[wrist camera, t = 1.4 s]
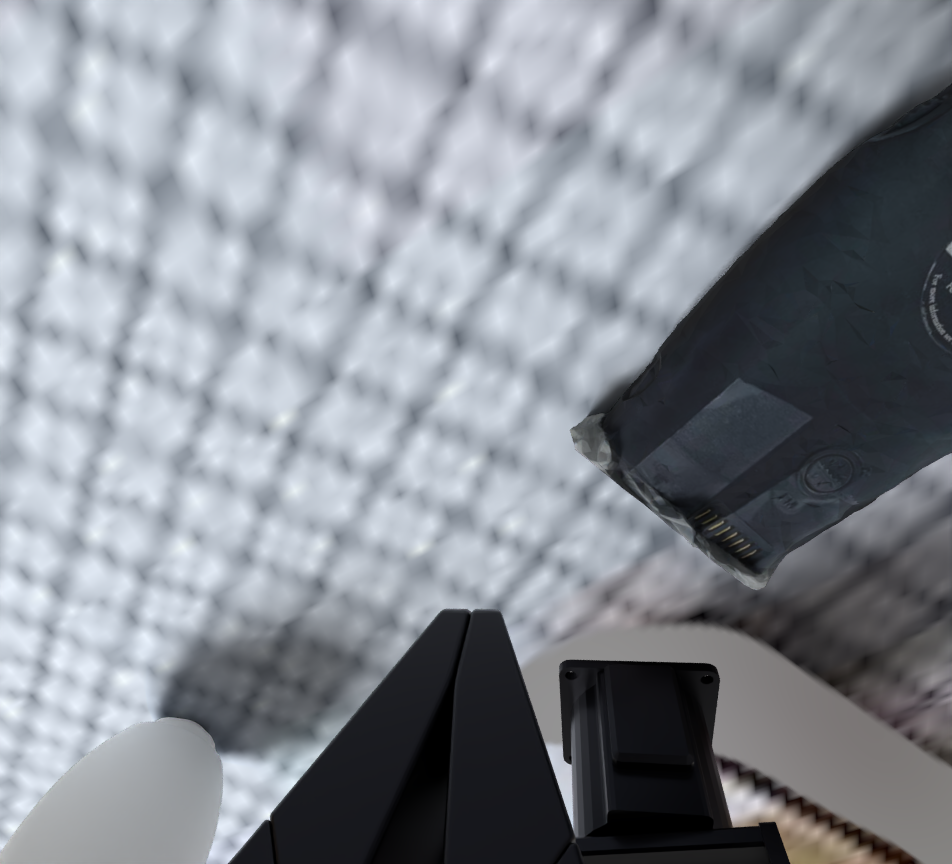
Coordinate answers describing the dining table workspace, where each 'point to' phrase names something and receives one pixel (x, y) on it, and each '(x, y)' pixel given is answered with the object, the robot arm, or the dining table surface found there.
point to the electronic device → (803, 363)
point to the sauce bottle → (129, 802)
